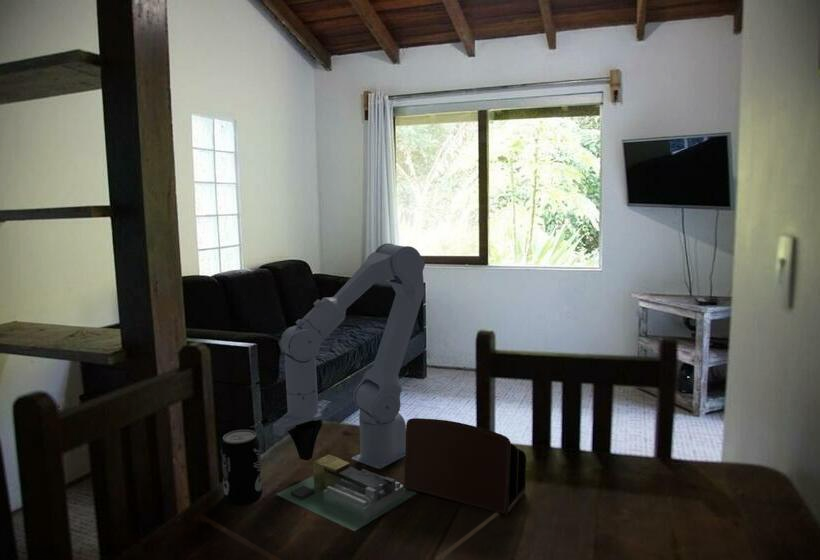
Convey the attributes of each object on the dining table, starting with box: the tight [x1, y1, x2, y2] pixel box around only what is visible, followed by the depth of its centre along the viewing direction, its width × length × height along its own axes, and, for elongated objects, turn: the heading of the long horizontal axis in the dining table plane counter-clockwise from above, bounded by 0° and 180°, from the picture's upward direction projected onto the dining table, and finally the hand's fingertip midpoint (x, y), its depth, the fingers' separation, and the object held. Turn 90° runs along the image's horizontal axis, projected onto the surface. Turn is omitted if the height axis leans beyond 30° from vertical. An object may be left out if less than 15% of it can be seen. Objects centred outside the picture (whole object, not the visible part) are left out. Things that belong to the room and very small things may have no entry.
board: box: [275, 465, 418, 532], centre depth 112 cm, size 16×20×1 cm
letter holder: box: [403, 417, 527, 516], centre depth 112 cm, size 10×20×14 cm, turn 61°
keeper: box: [312, 454, 351, 491], centre depth 114 cm, size 4×6×5 cm
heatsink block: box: [323, 468, 405, 522], centre depth 109 cm, size 10×10×4 cm
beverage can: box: [220, 429, 263, 506], centre depth 111 cm, size 7×7×12 cm
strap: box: [328, 466, 388, 493], centre depth 110 cm, size 3×12×1 cm, turn 50°
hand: (305, 458), depth 119 cm, fingers closed
